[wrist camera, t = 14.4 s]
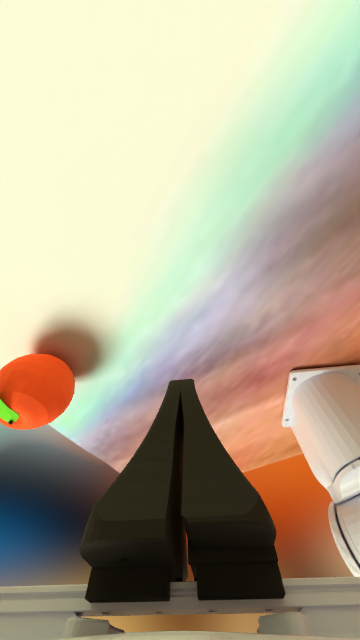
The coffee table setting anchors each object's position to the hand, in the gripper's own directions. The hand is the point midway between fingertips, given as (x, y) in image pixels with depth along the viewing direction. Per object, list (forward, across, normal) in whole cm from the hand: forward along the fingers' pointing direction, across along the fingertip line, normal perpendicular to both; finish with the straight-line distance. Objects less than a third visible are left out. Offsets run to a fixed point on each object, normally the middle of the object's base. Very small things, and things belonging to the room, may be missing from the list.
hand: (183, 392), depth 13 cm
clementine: (+10, +15, +4) cm, 18 cm away
